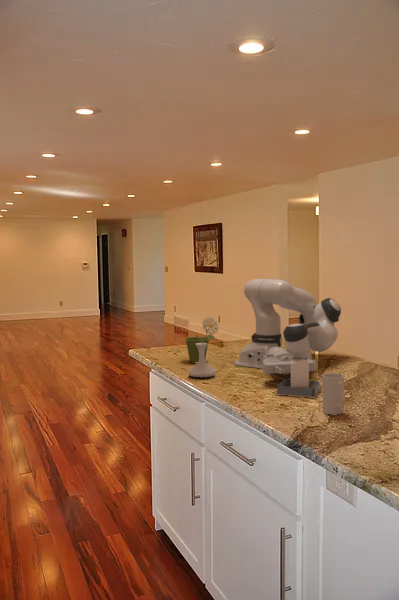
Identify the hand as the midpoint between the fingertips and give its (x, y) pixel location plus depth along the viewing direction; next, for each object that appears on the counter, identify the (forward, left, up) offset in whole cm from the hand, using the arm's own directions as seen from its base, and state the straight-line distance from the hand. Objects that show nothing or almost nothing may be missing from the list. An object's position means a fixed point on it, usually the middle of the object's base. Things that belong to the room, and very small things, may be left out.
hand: (294, 370), depth 202 cm
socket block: (+2, -4, -7) cm, 8 cm away
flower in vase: (-40, +9, -7) cm, 41 cm away
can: (+3, -4, -6) cm, 8 cm away
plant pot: (-53, +35, -7) cm, 64 cm away
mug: (+18, -27, -7) cm, 33 cm away
